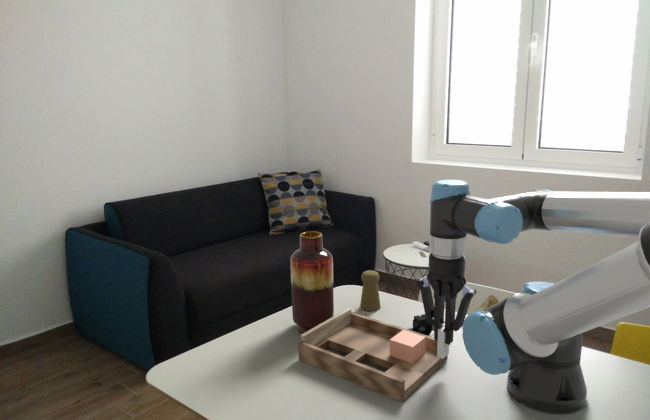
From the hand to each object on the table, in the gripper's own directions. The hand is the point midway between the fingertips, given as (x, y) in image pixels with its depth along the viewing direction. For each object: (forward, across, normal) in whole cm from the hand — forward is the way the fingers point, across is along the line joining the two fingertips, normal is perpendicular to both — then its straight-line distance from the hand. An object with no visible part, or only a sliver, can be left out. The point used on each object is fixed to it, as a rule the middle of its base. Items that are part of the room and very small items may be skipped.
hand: (442, 355), depth 113 cm
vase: (+5, +38, 0) cm, 38 cm away
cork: (+5, +33, -20) cm, 39 cm away
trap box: (+5, +16, +4) cm, 17 cm away
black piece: (+6, +13, -16) cm, 21 cm away
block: (+3, +9, 0) cm, 9 cm away
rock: (+5, 0, -23) cm, 24 cm away
